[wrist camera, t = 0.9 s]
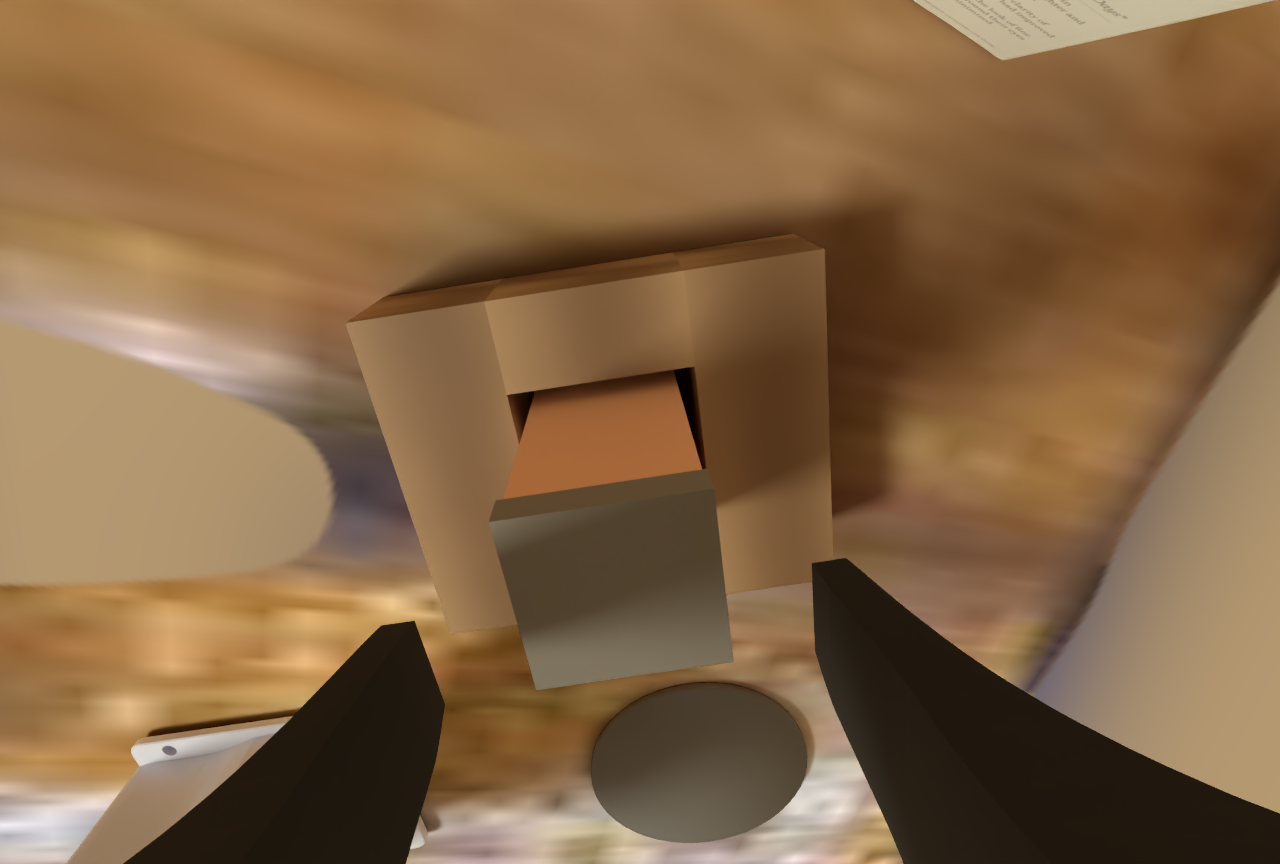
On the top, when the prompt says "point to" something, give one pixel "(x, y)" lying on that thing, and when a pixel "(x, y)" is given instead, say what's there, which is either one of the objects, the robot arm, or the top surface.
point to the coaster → (698, 762)
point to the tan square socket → (600, 350)
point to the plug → (612, 536)
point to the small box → (1064, 20)
